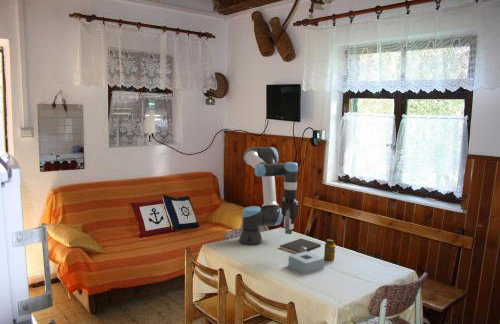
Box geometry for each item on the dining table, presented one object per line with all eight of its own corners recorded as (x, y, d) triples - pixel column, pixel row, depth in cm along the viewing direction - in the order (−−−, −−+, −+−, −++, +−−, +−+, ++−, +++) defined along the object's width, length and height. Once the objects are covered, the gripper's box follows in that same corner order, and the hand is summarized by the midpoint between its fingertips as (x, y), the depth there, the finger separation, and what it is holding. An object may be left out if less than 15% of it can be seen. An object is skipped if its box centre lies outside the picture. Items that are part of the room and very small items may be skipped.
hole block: (288, 265, 233) (288, 255, 232) (306, 261, 241) (306, 251, 240) (305, 274, 221) (306, 263, 221) (323, 268, 230) (324, 258, 229)
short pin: (298, 256, 248) (298, 247, 247) (303, 255, 250) (303, 246, 249) (302, 258, 245) (303, 249, 244) (307, 257, 247) (308, 247, 246)
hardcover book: (279, 249, 262) (279, 245, 262) (300, 241, 279) (301, 238, 279) (299, 255, 251) (299, 252, 251) (320, 247, 268) (320, 244, 268)
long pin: (283, 232, 242) (284, 209, 241) (288, 231, 244) (289, 208, 243) (288, 234, 239) (289, 210, 237) (293, 233, 241) (294, 210, 240)
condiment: (337, 260, 244) (338, 240, 242) (327, 262, 239) (328, 243, 238) (328, 256, 250) (329, 237, 248) (318, 259, 245) (319, 239, 244)
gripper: (276, 187, 243) (274, 225, 246) (295, 191, 230) (293, 232, 232) (285, 186, 248) (284, 223, 250) (305, 190, 234) (303, 230, 237)
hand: (288, 227), depth 241 cm, fingers closed on long pin, 4 cm apart
